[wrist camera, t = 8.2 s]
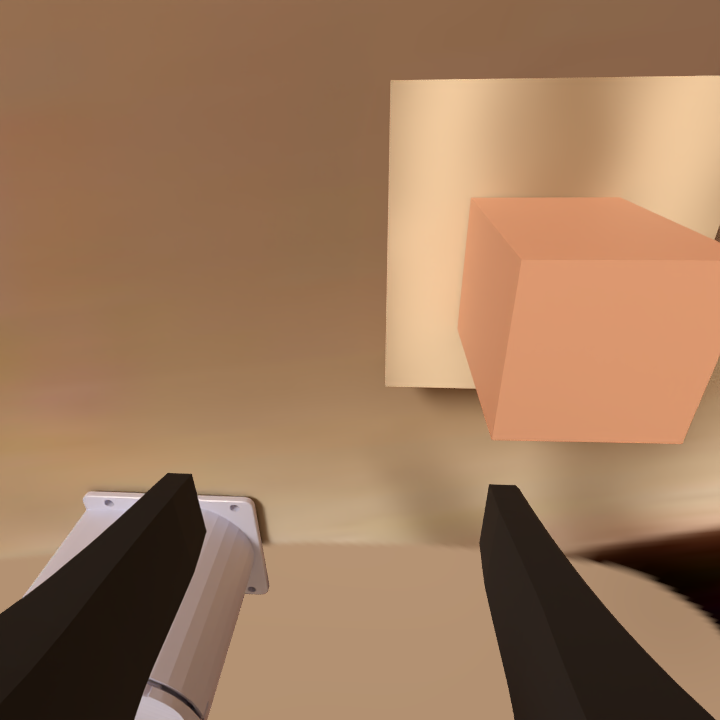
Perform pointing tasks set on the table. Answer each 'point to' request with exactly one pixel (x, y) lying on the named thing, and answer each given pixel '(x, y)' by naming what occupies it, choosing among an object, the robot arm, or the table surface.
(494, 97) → the birch base block
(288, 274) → the table surface
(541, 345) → the terracotta block
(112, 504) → the robot arm
